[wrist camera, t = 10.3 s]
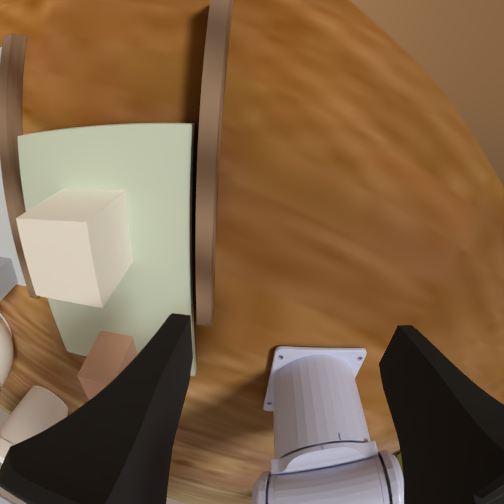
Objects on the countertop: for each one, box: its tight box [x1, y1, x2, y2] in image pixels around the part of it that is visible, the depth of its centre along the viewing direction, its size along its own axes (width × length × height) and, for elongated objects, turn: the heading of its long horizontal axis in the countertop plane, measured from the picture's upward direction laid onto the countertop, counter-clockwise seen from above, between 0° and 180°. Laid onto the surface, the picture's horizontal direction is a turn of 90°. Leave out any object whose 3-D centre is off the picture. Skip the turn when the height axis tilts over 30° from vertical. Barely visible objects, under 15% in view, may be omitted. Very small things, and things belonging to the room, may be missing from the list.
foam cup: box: [0, 385, 68, 464], centre depth 26 cm, size 10×9×13 cm
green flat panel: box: [18, 123, 196, 400], centre depth 18 cm, size 20×13×6 cm, turn 175°
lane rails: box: [0, 0, 233, 326], centre depth 16 cm, size 21×23×2 cm
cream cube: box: [16, 190, 133, 308], centre depth 16 cm, size 5×5×5 cm
